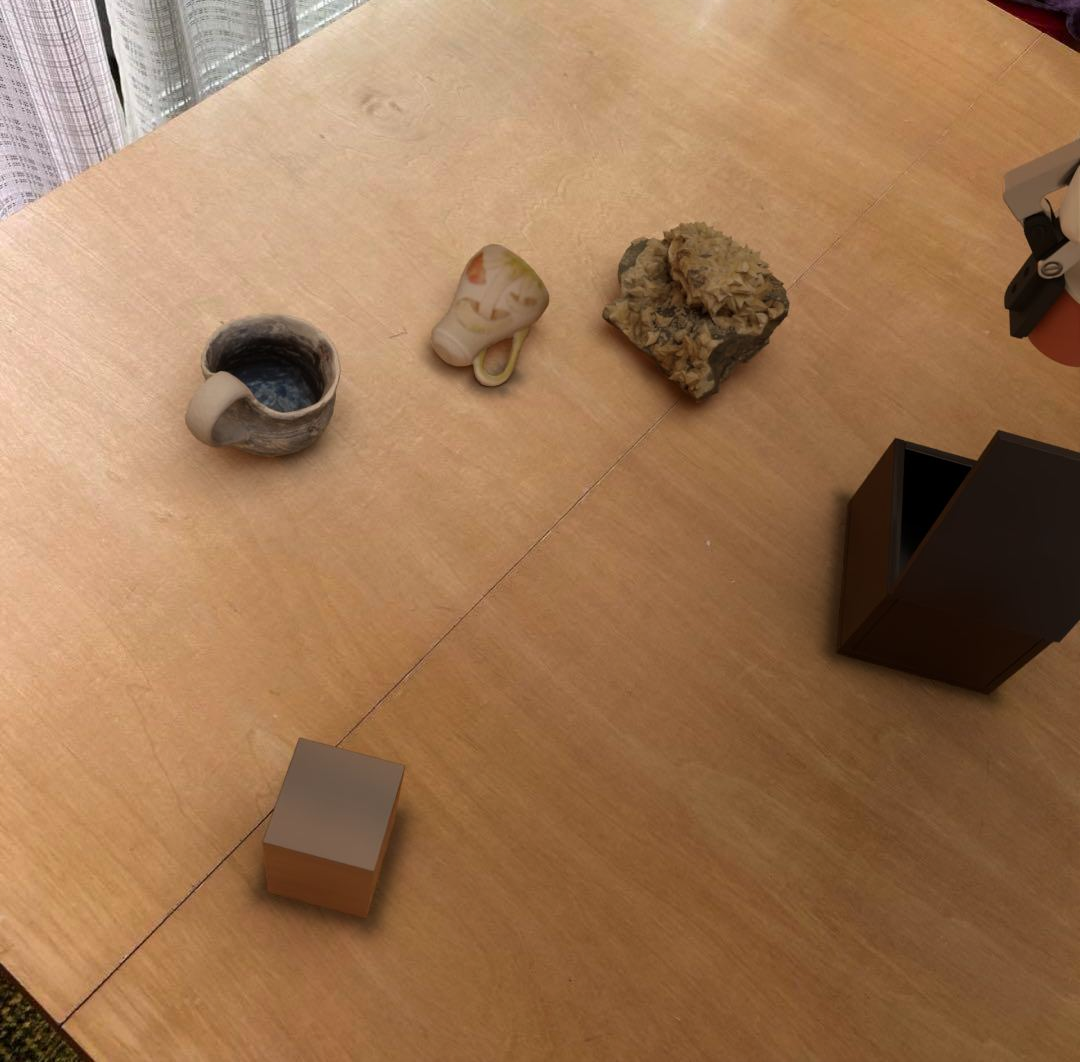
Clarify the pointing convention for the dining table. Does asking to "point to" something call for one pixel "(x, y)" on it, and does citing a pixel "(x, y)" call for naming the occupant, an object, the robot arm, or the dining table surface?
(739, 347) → the mineral specimen
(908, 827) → the dining table surface
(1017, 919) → the dining table surface
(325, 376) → the mug
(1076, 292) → the disc
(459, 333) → the mug
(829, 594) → the dining table surface
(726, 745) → the dining table surface
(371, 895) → the stand
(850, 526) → the box
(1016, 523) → the lid
